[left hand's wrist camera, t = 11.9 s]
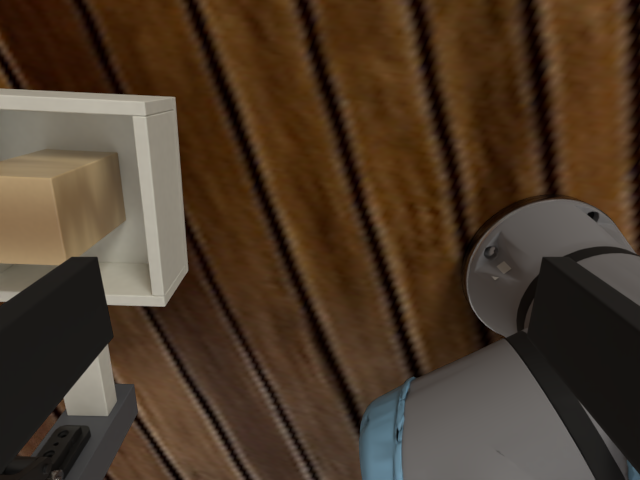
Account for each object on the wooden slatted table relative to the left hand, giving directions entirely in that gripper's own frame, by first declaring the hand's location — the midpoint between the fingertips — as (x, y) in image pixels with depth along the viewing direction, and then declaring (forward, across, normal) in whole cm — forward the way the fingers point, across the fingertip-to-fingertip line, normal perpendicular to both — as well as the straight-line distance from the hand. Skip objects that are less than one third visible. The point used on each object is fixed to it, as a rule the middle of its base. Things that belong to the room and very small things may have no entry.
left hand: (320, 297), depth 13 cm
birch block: (+18, +17, +1) cm, 24 cm away
